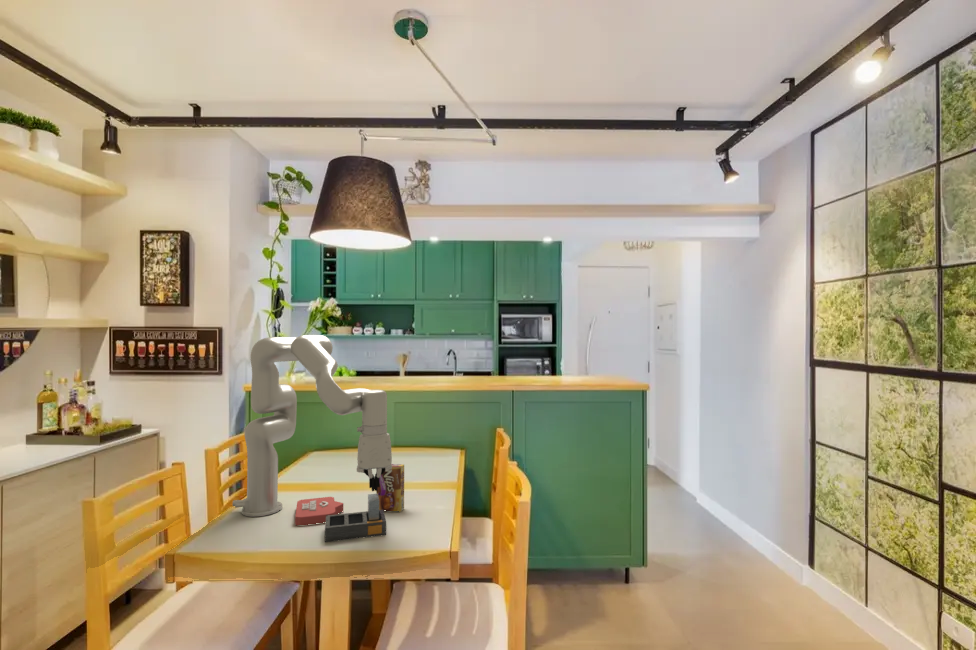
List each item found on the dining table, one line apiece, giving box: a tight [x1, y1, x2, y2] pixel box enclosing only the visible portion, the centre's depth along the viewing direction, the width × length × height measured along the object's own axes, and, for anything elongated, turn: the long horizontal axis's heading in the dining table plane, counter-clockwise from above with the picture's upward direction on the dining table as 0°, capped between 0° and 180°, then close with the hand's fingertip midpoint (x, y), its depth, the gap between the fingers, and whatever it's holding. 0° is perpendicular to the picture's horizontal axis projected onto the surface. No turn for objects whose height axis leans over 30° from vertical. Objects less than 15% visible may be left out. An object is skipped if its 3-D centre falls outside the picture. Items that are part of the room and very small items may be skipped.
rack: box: [324, 510, 387, 543], centre depth 146 cm, size 17×11×4 cm, turn 107°
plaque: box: [294, 496, 344, 526], centre depth 161 cm, size 18×4×15 cm
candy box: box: [375, 463, 405, 513], centre depth 165 cm, size 9×4×15 cm, turn 82°
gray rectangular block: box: [367, 493, 379, 521], centre depth 147 cm, size 3×6×10 cm, turn 17°
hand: (374, 489), depth 148 cm, fingers closed
